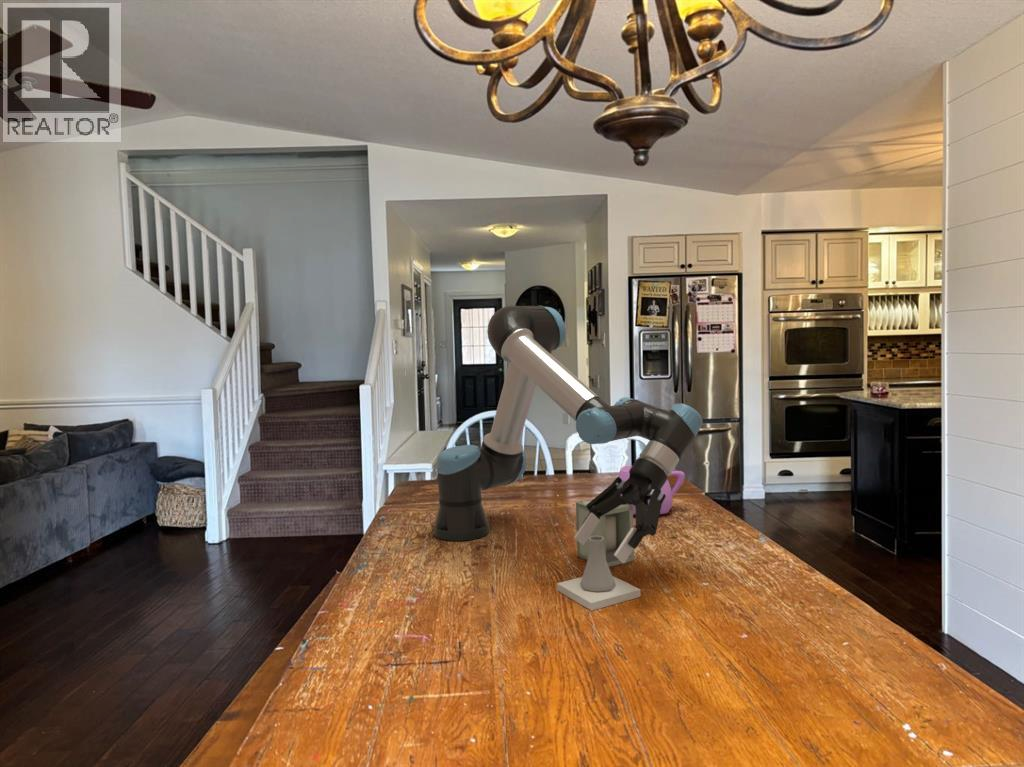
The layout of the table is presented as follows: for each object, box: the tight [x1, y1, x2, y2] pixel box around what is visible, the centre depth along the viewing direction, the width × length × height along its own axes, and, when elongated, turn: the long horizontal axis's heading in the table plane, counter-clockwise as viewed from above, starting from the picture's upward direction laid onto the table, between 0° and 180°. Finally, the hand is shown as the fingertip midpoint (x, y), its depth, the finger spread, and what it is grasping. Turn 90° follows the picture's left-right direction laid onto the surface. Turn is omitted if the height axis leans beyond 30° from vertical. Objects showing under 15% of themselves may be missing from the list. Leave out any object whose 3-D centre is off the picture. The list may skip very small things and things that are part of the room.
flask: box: [580, 535, 615, 591], centre depth 128 cm, size 7×7×10 cm
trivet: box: [556, 575, 641, 611], centre depth 129 cm, size 12×12×2 cm
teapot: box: [617, 456, 686, 516], centre depth 191 cm, size 23×21×15 cm
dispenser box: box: [575, 499, 635, 568], centre depth 149 cm, size 10×9×13 cm
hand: (597, 550), depth 128 cm, fingers open, 13 cm apart
